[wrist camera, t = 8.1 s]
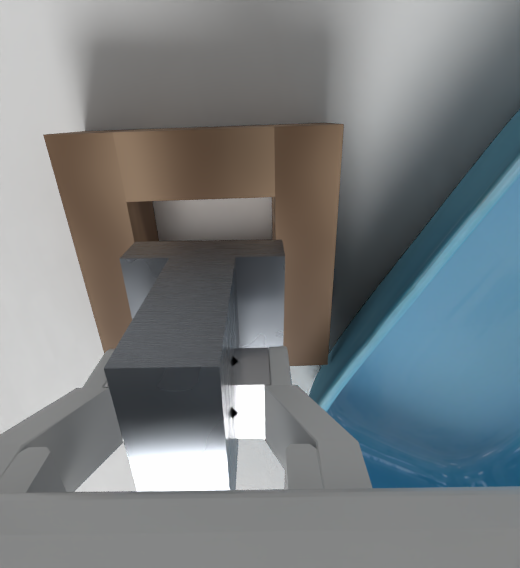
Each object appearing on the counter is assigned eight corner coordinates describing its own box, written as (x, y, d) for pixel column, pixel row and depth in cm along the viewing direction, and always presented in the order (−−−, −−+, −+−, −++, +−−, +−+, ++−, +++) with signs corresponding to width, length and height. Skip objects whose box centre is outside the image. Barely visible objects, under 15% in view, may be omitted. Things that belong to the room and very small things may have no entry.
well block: (326, 122, 19) (343, 124, 15) (316, 327, 24) (327, 364, 21) (84, 131, 19) (43, 134, 15) (131, 333, 24) (109, 371, 21)
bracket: (282, 239, 12) (306, 365, 6) (280, 357, 14) (296, 531, 8) (135, 241, 12) (16, 369, 6) (156, 358, 14) (85, 534, 8)
